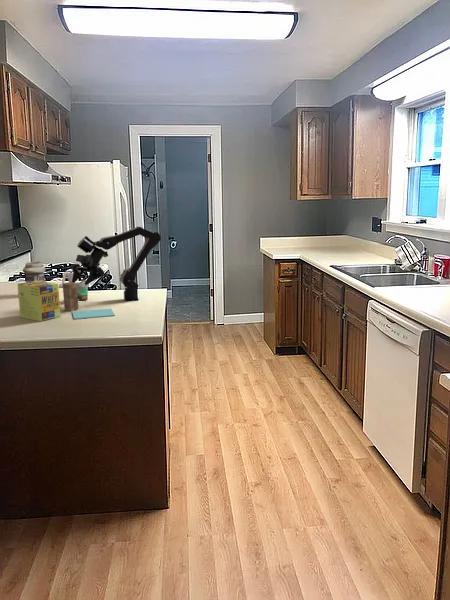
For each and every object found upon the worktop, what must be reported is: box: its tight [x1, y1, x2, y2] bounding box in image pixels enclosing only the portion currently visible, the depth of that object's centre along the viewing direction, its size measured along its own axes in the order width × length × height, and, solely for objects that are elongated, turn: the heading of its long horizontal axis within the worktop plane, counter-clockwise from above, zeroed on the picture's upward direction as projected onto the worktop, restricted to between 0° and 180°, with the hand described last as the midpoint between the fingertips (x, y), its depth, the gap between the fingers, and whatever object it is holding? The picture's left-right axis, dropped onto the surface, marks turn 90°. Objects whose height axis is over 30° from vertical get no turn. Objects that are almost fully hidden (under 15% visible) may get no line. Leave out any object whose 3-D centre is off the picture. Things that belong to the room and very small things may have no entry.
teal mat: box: [71, 308, 116, 320], centre depth 235 cm, size 18×14×1 cm
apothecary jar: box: [22, 261, 47, 283], centre depth 278 cm, size 12×12×18 cm
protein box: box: [17, 281, 61, 322], centre depth 228 cm, size 10×15×16 cm
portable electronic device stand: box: [58, 271, 77, 288], centre depth 302 cm, size 9×8×8 cm
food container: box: [76, 279, 90, 302], centre depth 263 cm, size 12×6×10 cm, turn 168°
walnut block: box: [62, 281, 79, 312], centre depth 242 cm, size 4×4×13 cm
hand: (78, 283), depth 246 cm, fingers open, 9 cm apart
